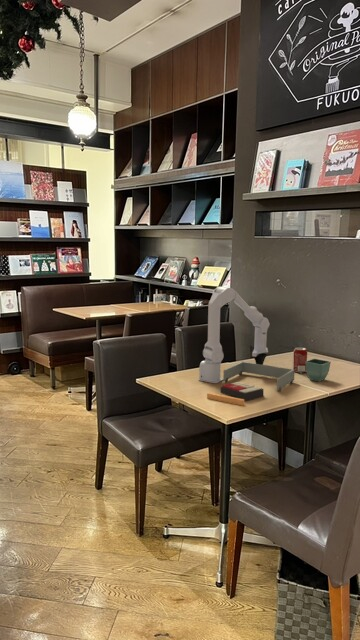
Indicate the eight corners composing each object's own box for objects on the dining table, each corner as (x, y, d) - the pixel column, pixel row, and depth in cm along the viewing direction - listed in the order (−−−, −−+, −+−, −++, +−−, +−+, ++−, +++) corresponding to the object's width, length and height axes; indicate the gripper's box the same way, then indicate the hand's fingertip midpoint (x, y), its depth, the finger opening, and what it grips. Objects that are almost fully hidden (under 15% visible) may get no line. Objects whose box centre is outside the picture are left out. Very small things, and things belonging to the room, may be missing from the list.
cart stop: (207, 398, 189) (207, 393, 189) (208, 397, 191) (209, 392, 190) (242, 405, 181) (242, 400, 180) (244, 404, 182) (244, 399, 182)
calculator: (238, 380, 204) (263, 387, 192) (238, 390, 204) (264, 397, 192) (220, 384, 197) (245, 391, 185) (220, 394, 198) (245, 402, 186)
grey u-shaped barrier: (223, 382, 212) (223, 369, 212) (241, 373, 229) (242, 361, 228) (278, 392, 198) (279, 379, 197) (294, 381, 214) (294, 369, 213)
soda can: (306, 373, 230) (308, 350, 228) (292, 372, 231) (293, 349, 229) (305, 370, 236) (307, 347, 234) (292, 369, 237) (293, 346, 236)
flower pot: (321, 383, 213) (322, 364, 211) (304, 379, 218) (305, 361, 217) (330, 379, 219) (331, 361, 218) (312, 376, 225) (313, 358, 224)
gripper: (262, 344, 215) (261, 372, 217) (273, 339, 227) (272, 366, 229) (248, 342, 219) (247, 370, 221) (260, 338, 231) (259, 364, 233)
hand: (259, 368), depth 225 cm, fingers closed
